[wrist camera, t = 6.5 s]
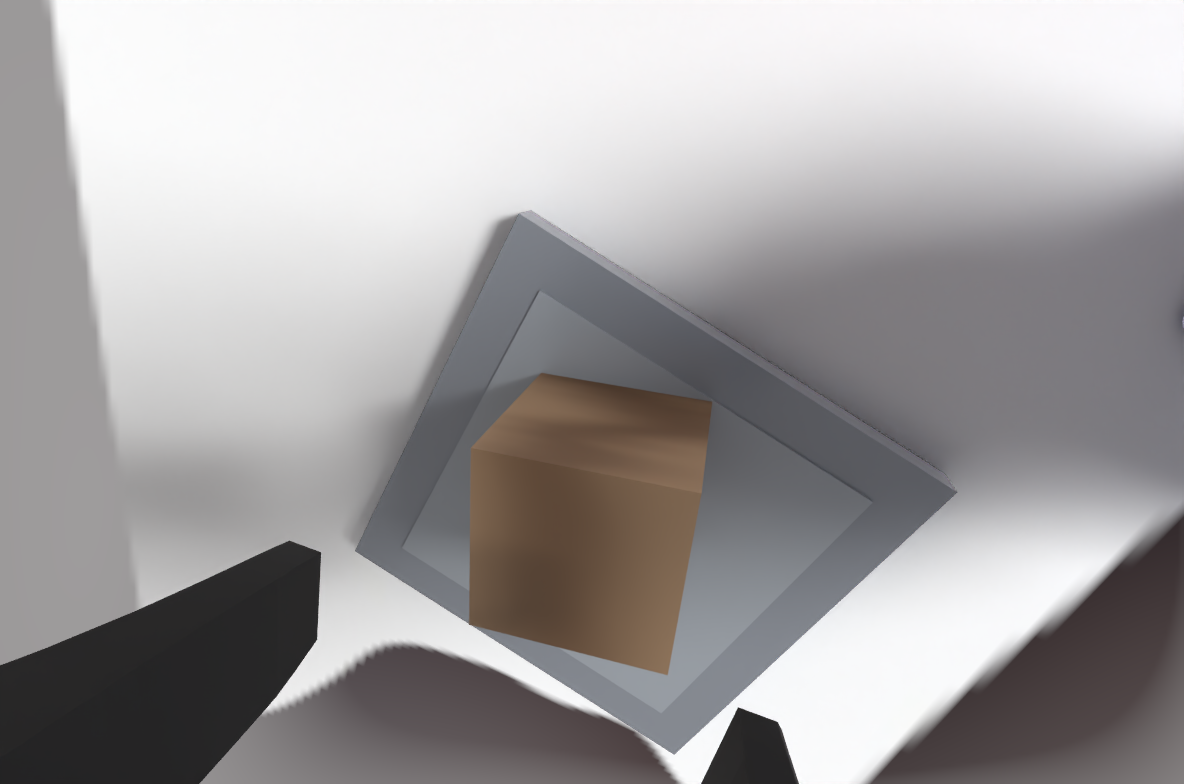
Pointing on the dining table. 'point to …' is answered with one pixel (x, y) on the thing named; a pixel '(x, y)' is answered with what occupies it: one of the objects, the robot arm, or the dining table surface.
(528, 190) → the dining table surface
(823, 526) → the coaster
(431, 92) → the dining table surface
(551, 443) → the walnut block
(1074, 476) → the dining table surface
